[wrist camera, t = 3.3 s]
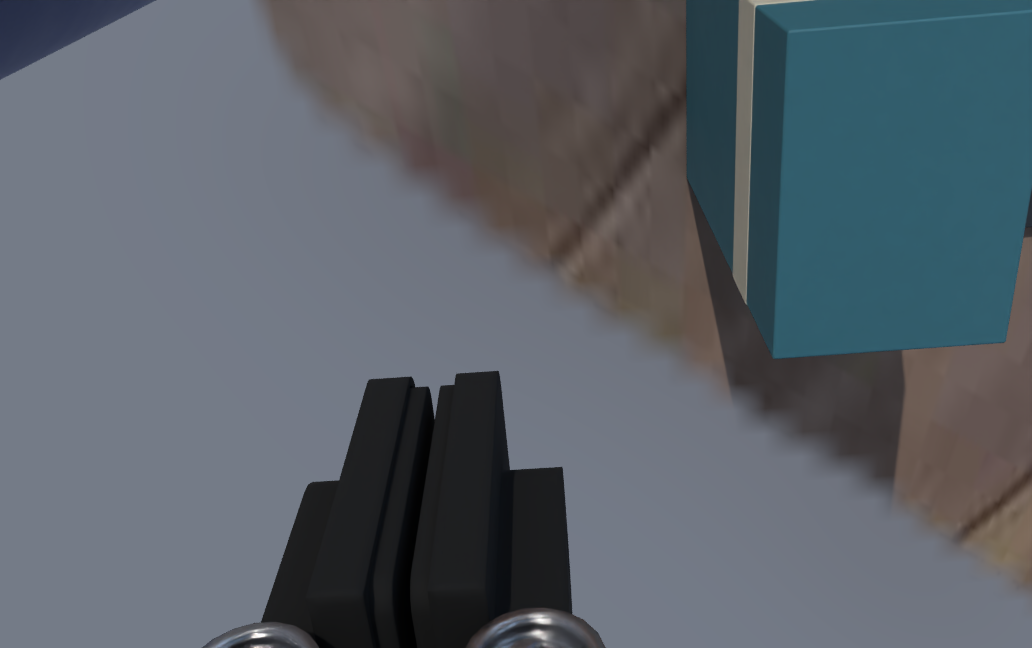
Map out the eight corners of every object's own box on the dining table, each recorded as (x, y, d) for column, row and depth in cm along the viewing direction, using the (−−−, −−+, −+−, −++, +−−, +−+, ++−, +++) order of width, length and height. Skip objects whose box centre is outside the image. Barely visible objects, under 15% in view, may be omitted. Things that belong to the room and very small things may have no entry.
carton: (685, 179, 32) (771, 361, 21) (685, -50, 29) (786, 29, 18) (841, 166, 32) (1007, 344, 21) (858, -65, 28) (1065, 6, 18)
